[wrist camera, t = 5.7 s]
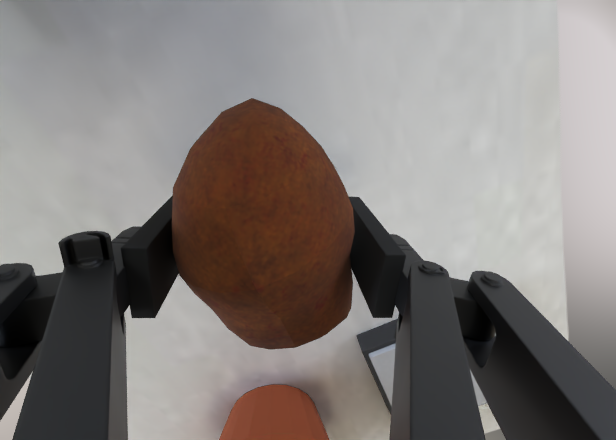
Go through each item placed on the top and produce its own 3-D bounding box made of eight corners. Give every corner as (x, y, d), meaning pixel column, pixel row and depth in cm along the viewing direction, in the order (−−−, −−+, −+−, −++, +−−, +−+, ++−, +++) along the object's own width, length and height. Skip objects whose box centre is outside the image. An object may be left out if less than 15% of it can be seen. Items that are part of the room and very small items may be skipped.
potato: (245, 313, 19) (228, 449, 12) (154, 132, 15) (33, 173, 7) (362, 275, 19) (417, 390, 12) (305, 79, 14) (336, 67, 7)
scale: (356, 335, 33) (363, 356, 31) (478, 286, 33) (497, 304, 30) (391, 413, 39) (400, 437, 36) (498, 373, 38) (515, 395, 35)
